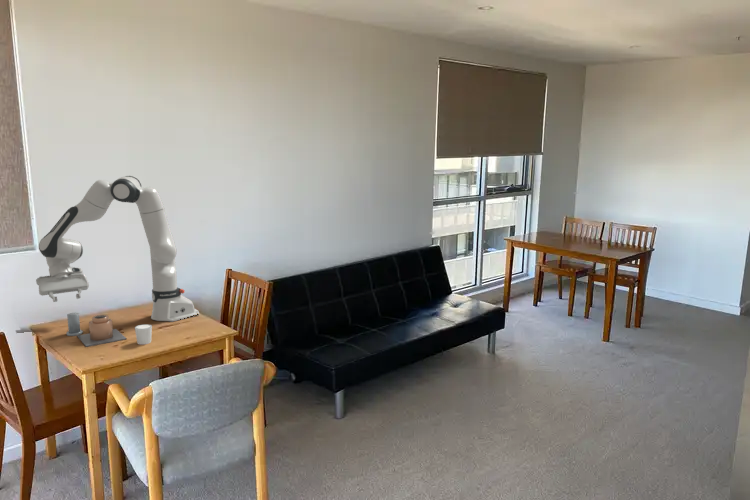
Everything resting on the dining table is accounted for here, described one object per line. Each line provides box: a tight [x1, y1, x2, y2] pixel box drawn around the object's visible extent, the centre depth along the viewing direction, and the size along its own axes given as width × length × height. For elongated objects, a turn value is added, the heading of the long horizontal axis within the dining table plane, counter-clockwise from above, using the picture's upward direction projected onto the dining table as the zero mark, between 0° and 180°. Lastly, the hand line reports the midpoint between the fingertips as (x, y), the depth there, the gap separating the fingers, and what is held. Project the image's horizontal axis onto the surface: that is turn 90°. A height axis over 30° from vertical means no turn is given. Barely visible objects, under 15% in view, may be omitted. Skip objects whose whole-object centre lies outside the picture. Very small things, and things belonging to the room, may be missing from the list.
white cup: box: [134, 324, 153, 346], centre depth 243 cm, size 7×7×7 cm
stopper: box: [65, 312, 84, 337], centre depth 252 cm, size 6×6×9 cm
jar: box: [76, 314, 127, 348], centre depth 247 cm, size 16×16×10 cm
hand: (67, 299), depth 258 cm, fingers open, 8 cm apart
